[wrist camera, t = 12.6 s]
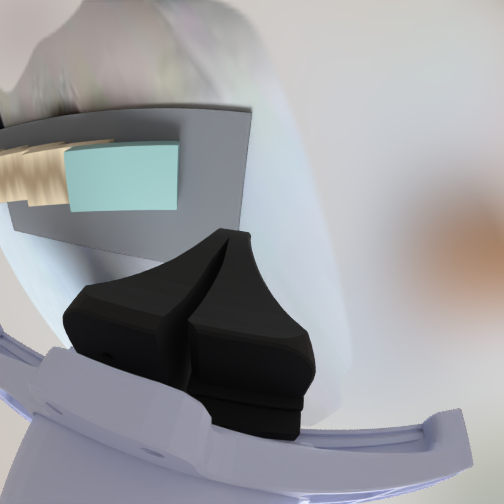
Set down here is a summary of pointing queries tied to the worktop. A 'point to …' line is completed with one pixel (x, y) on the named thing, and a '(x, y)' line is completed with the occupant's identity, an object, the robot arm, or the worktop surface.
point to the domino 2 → (48, 173)
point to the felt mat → (146, 221)
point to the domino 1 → (15, 174)
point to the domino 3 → (123, 176)
